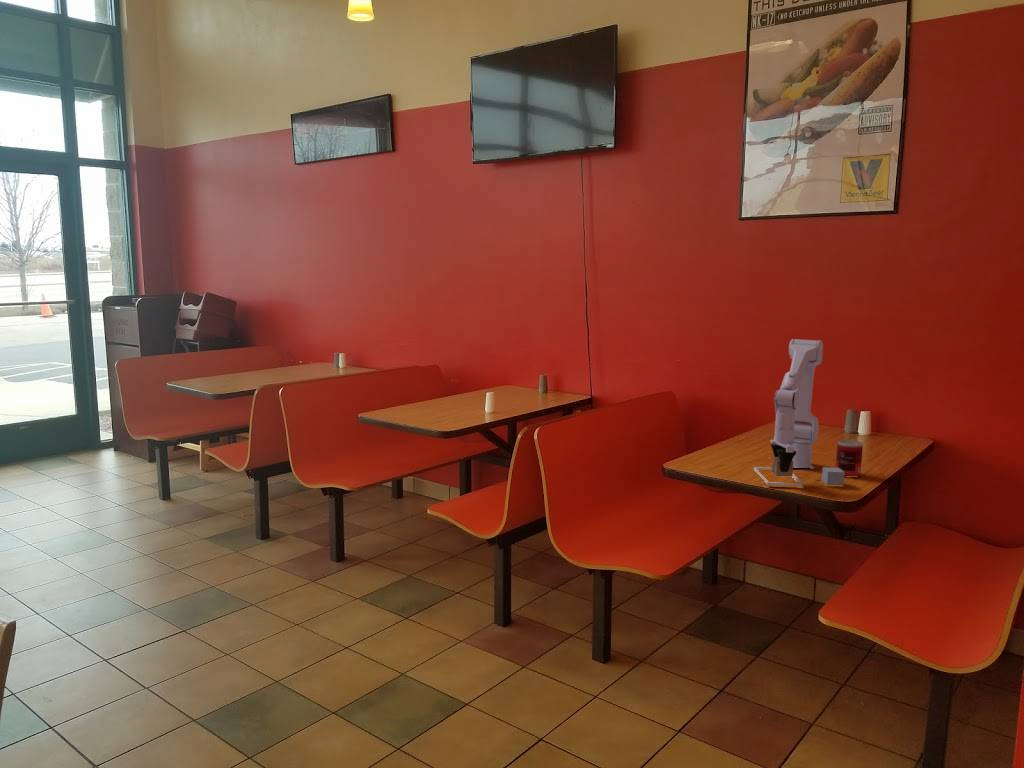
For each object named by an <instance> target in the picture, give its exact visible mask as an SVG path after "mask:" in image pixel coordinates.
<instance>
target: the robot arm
mask: <svg viewBox="0 0 1024 768" xmlns="http://www.w3.org/2000/svg"><path fill="white" fill-rule="evenodd" d="M823 353H824V344H823V341H822V340H813V339H812V340H811V339H796V338H792V339H791V340H790V341H789V345H788V355H789V356H790V357H789V359H791V364H790V368H789V371H788V372H786V373H785V374H784V376H783V379H782V382H781V385H780V387H779V388H780V389H777V390H776V391H775V393H774V403H773V404H774V413H775V421H774V424H775V425H774V437H773V439H770V441H769V442H770V443H771V444H770V447H771V449H772V453H773V457H779V460H780V470H781V472H788V470H789V467H790V464H791V461H793V466H794V468H810V469H809V470H815V469H814V468H815V467H814V466H813V465H812V453H813V442H816V441H817V440H818V436H819V429H820V428H819V419H818V418H817V417H816V416H815V415H814V414H813V413H812V411H811V409H812V400H813V388H814V378H815V370H816V367H817V366H818V365H822V361H823Z"/></svg>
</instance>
